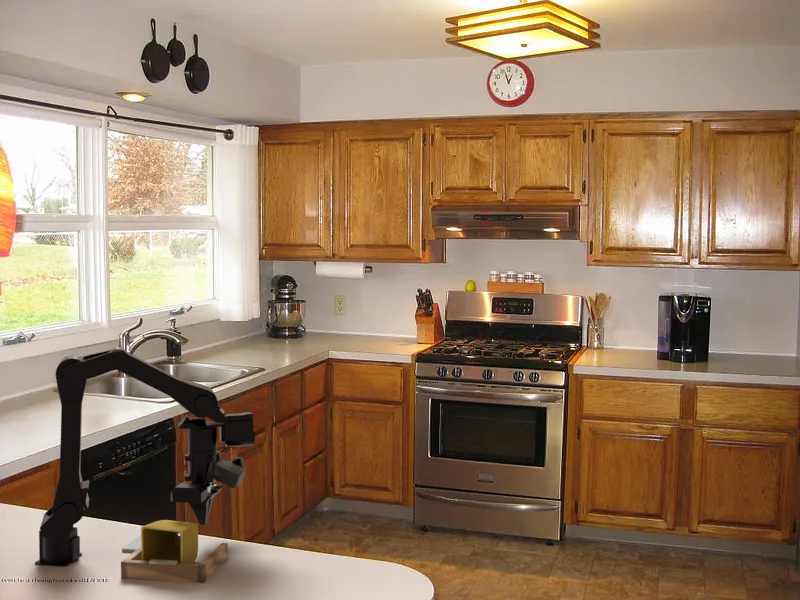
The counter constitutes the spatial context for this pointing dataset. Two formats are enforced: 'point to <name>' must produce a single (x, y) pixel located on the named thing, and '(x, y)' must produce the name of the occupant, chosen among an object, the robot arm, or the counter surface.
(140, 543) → the tile
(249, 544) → the counter surface
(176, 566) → the wooden tray frame
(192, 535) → the flower pot
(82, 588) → the counter surface
